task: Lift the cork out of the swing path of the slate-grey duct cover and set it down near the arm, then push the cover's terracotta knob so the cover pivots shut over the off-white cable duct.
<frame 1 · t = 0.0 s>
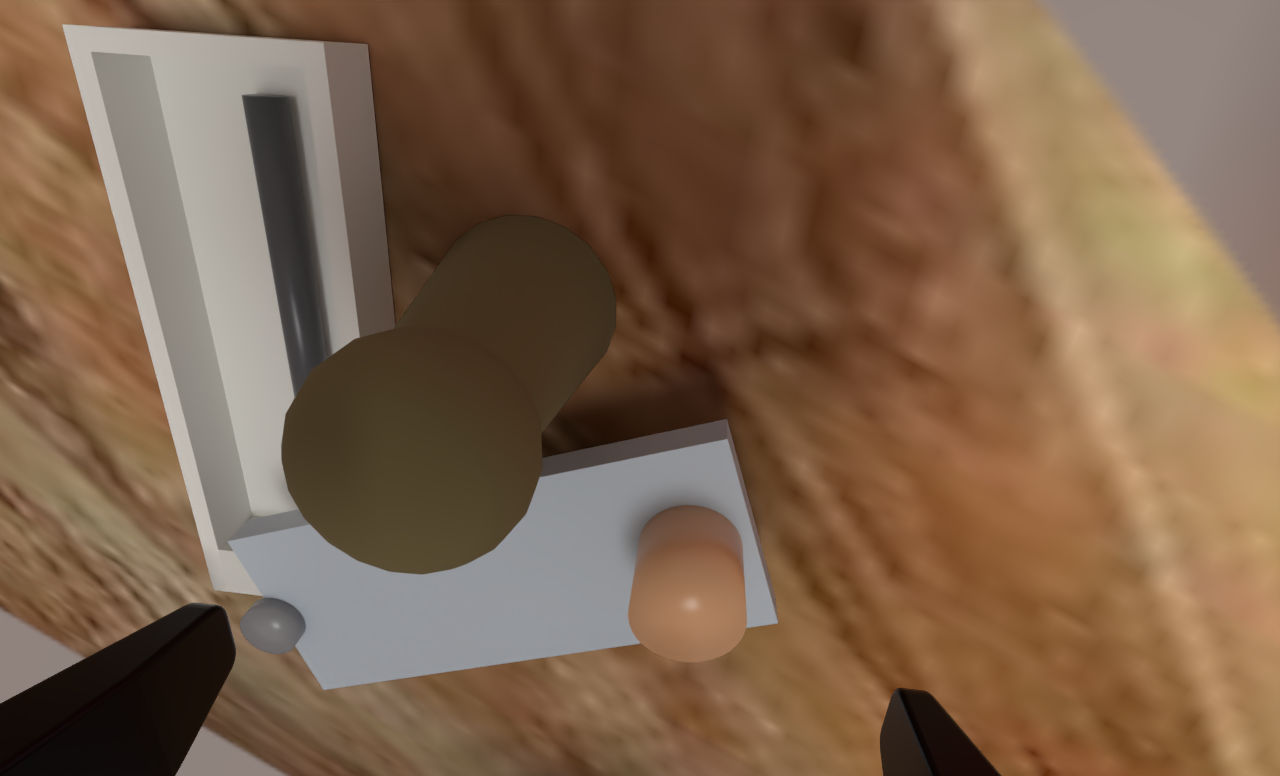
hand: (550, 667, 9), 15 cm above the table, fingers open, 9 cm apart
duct: (300, 341, 24), on the table
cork: (527, 305, 23), on the table
cover: (475, 603, 22), point 5 cm above the table, hinge at -70.0°
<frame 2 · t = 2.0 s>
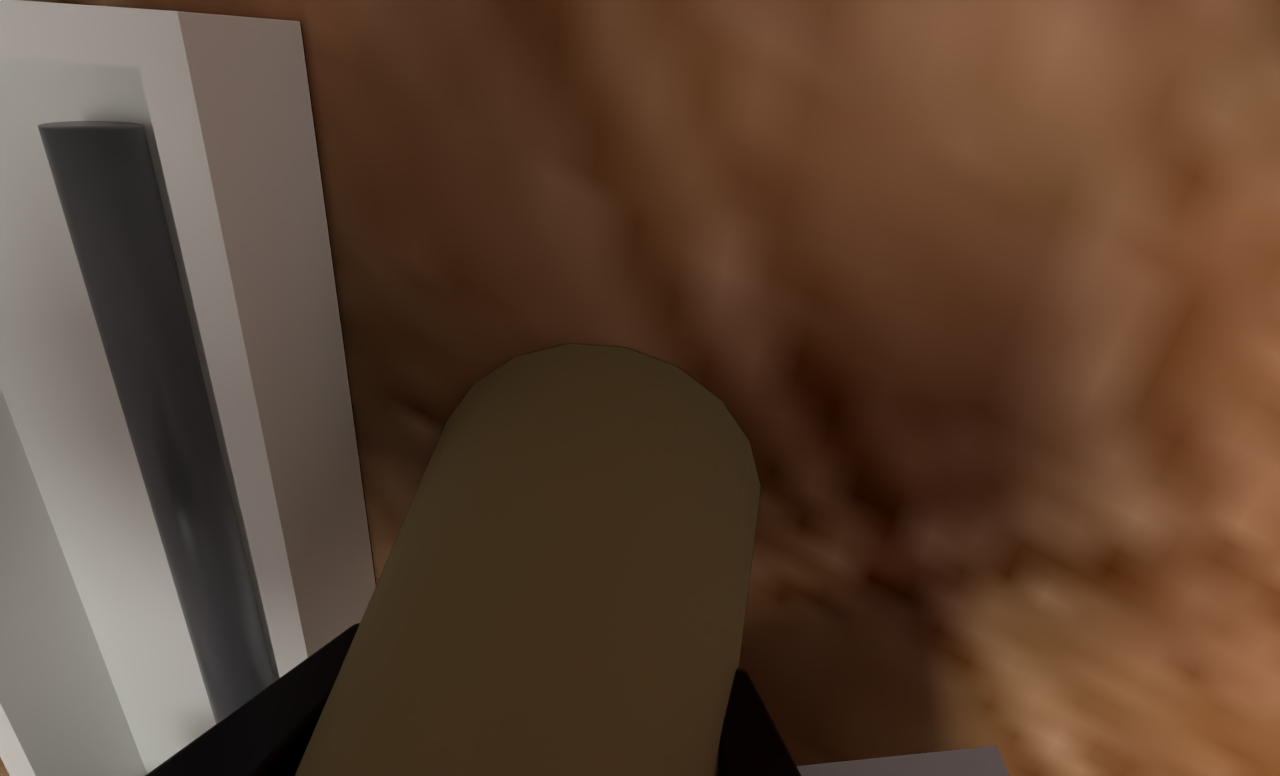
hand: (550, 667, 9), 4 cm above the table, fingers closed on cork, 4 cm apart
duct: (205, 534, 14), on the table
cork: (597, 488, 13), on the table, touching gripper
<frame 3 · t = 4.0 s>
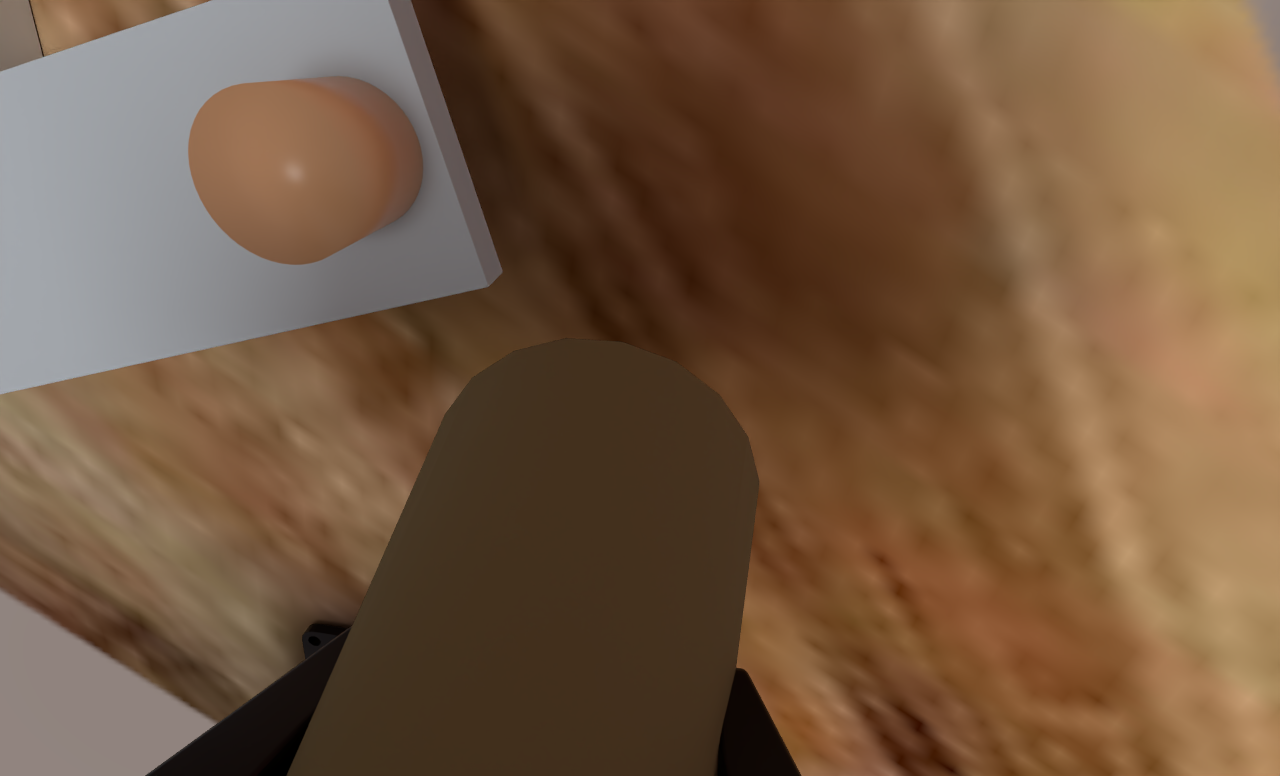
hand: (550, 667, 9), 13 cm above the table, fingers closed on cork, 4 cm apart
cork: (595, 484, 13), point 9 cm above the table, touching gripper
cover: (62, 234, 16), point 5 cm above the table, hinge at -70.0°
when the fingers open (5 cm above the table, at t = 5.9 s): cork stays where it is, on the table.
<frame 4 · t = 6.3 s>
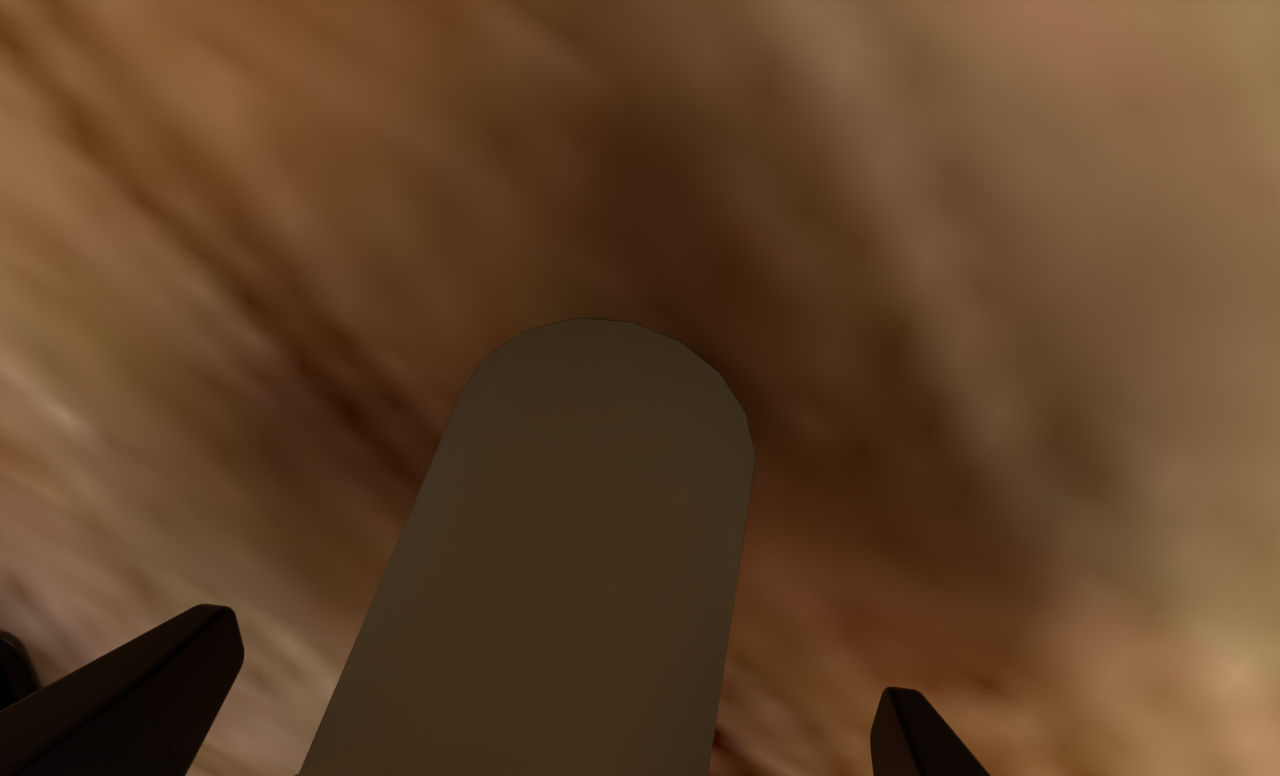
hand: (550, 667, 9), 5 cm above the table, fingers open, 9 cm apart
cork: (602, 457, 14), on the table
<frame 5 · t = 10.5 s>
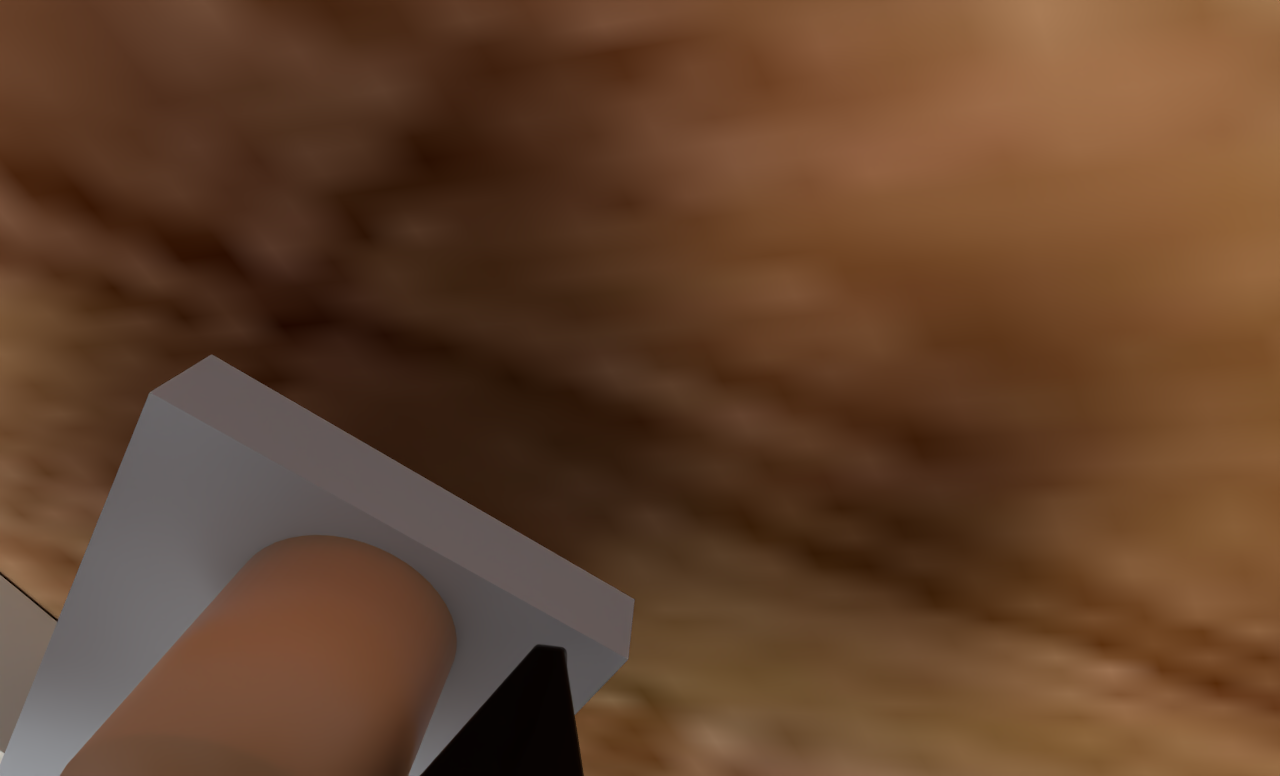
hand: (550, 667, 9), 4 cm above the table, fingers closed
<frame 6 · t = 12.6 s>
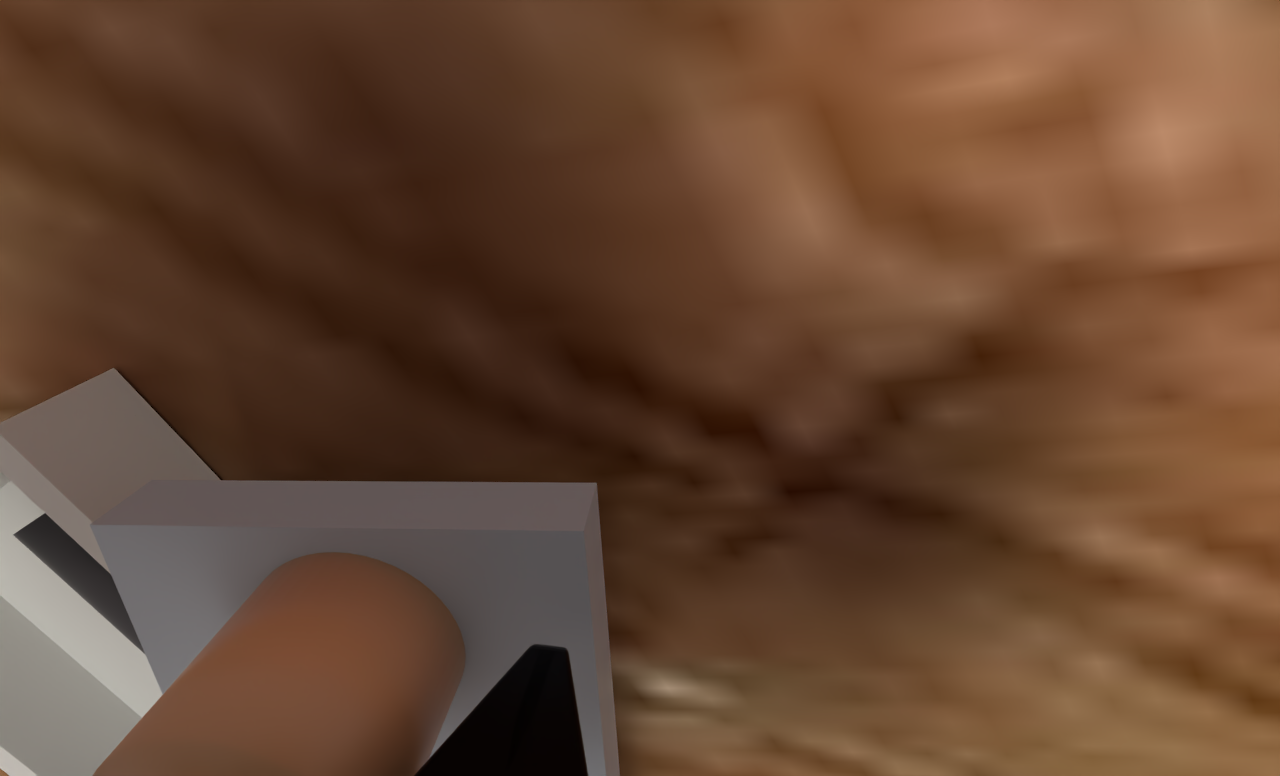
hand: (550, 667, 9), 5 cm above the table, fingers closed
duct: (317, 742, 17), on the table
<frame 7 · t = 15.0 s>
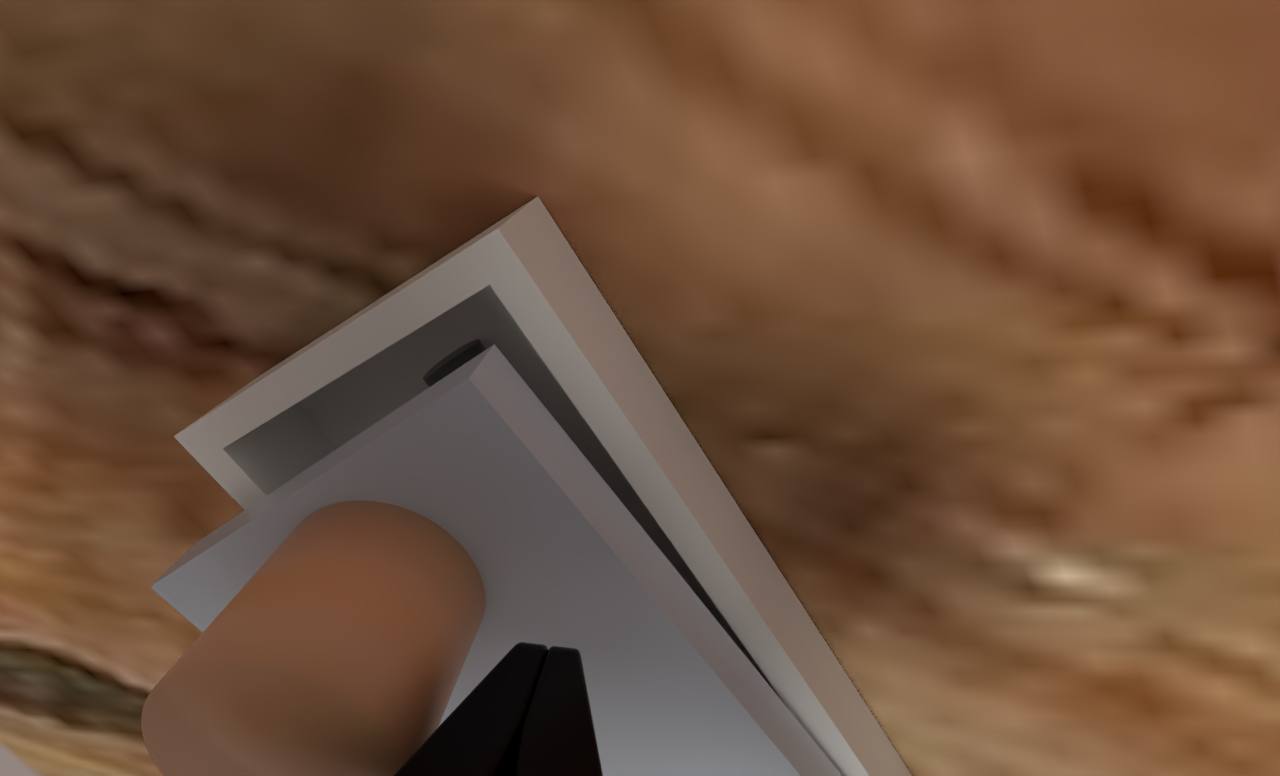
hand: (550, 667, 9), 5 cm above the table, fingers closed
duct: (649, 634, 16), on the table
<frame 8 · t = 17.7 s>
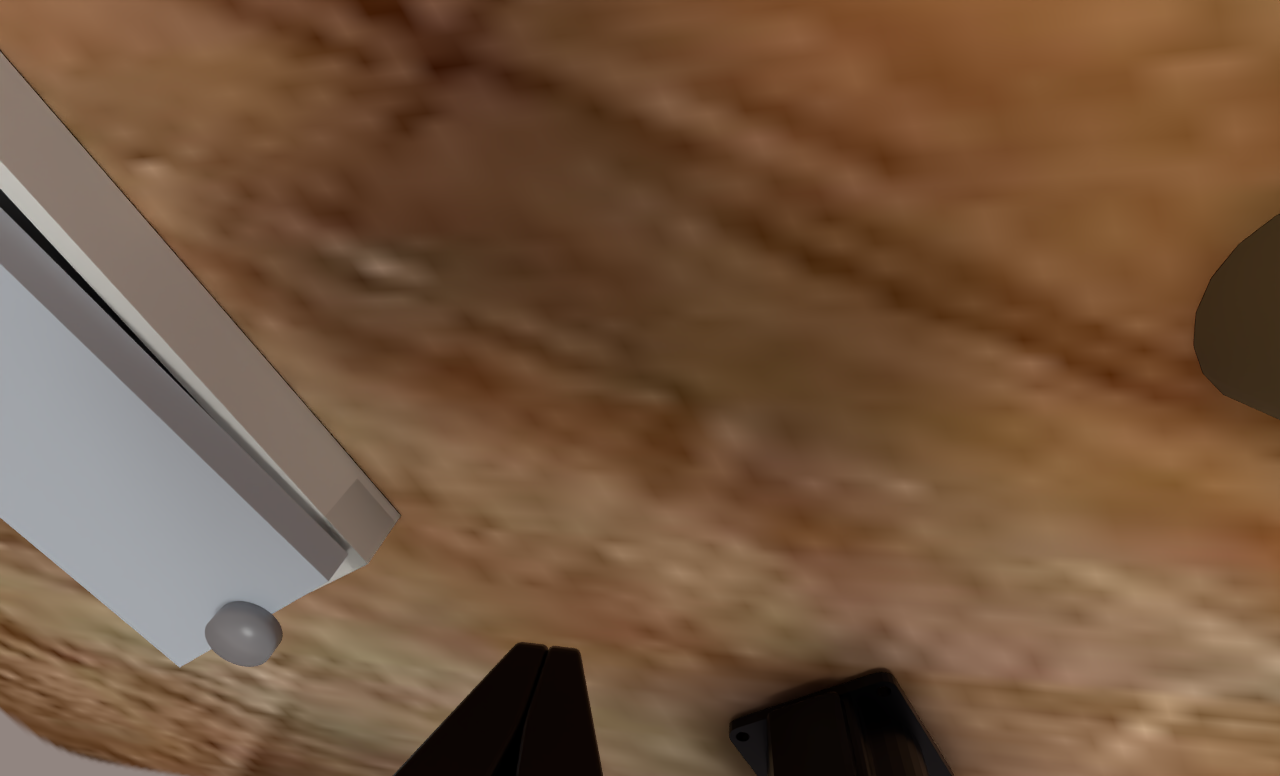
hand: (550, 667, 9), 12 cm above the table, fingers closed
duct: (124, 335, 22), on the table
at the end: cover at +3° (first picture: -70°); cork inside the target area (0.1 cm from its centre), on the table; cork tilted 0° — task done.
